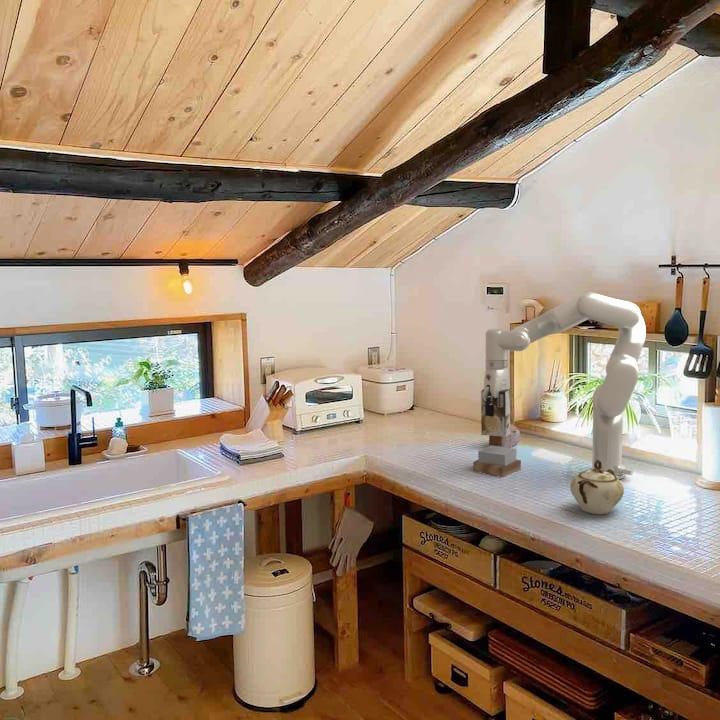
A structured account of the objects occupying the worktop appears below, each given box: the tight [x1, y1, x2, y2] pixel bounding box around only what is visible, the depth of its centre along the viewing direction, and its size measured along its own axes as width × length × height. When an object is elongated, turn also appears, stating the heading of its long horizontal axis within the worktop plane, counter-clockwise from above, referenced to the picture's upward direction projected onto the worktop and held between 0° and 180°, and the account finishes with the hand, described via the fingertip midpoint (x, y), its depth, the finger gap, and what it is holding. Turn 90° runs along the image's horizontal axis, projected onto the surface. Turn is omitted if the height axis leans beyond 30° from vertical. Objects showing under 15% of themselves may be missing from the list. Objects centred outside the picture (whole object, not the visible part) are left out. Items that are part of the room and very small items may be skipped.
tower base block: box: [472, 459, 522, 478], centre depth 252 cm, size 12×12×4 cm
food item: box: [488, 423, 521, 448], centre depth 285 cm, size 14×8×10 cm, turn 138°
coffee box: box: [480, 388, 511, 437], centre depth 250 cm, size 9×6×16 cm
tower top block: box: [477, 445, 517, 466], centre depth 252 cm, size 10×10×4 cm
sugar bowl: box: [569, 460, 625, 515], centre depth 209 cm, size 20×15×15 cm
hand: (496, 413), depth 250 cm, fingers closed on coffee box, 7 cm apart
